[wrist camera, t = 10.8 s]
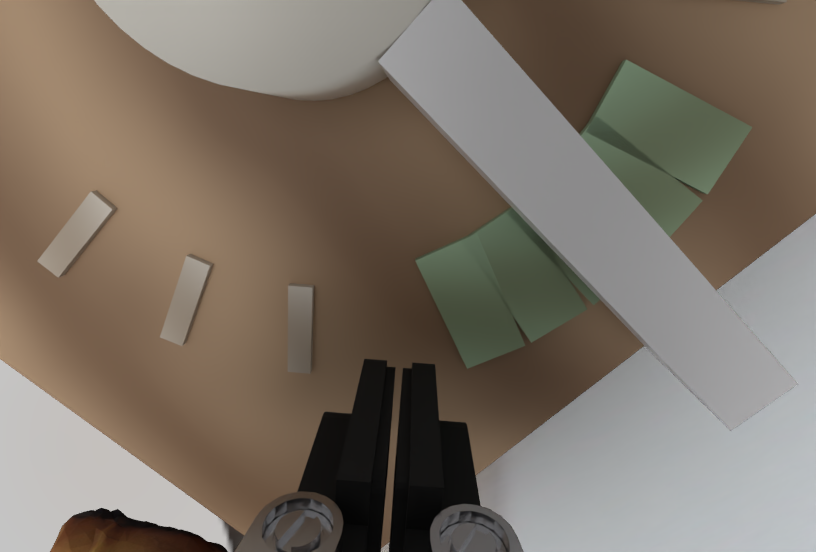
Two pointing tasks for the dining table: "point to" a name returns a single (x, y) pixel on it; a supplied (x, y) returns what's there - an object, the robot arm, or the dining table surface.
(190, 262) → the tuner board
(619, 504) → the dining table surface
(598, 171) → the peg dial
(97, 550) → the figurine
